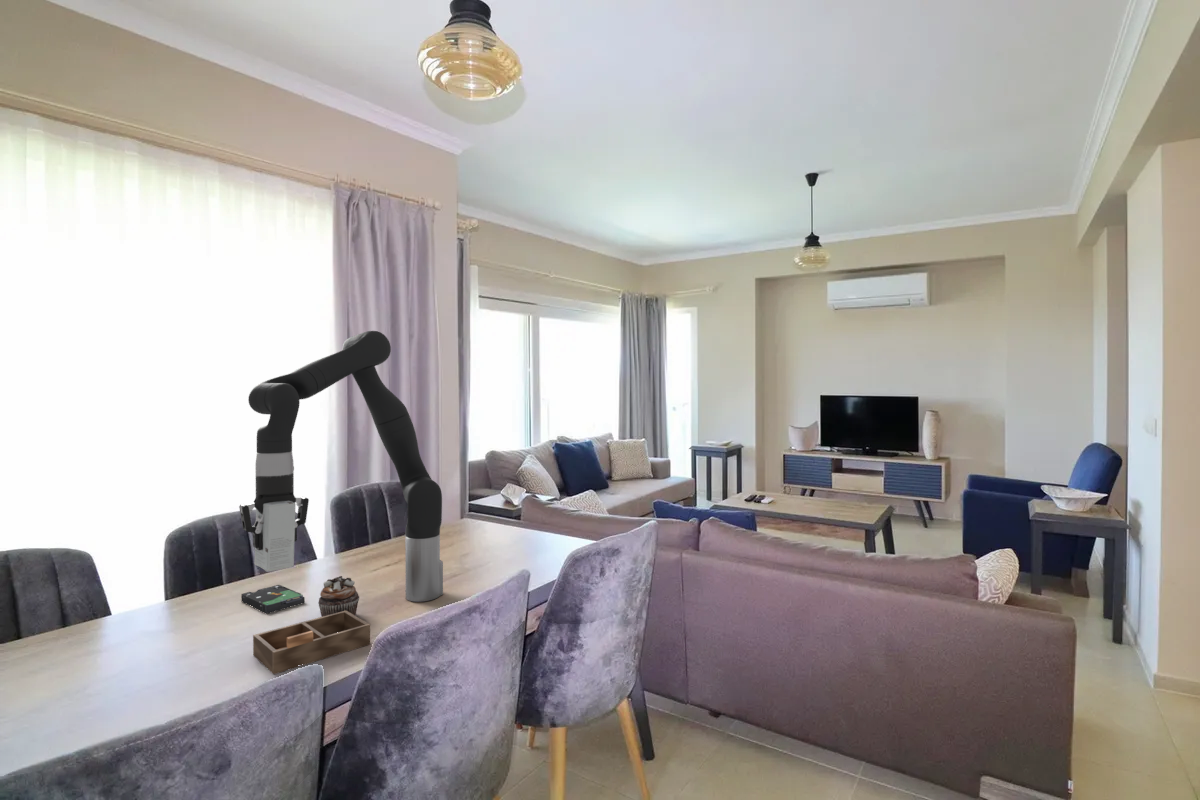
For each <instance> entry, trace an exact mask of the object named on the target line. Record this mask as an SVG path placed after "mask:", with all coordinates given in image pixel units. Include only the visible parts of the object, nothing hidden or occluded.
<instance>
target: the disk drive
mask: <svg viewBox="0 0 1200 800" xmlns="http://www.w3.org/2000/svg"><path fill="white" fill-rule="evenodd" d="M240 600H241V602H242V601H243V602H244V603H243V602H242V603H243V604H245V603H247V604H249V605H251V606H253V607H255V608H256V610H257V609H258V610H257V611H259V610H260V611H259V612H261V611H262V612H261V613H263V612H264V613H263V614H265V613H266V614H267V613H268V614H271V613H275V612H278V611H281V609H282V610H285V609H288V608H287V607H289V608H291V607H290V606H293V607H294V605H296V606H298V604H300V605H302V604H301V603H303V604H305V603H306V601H305V596H304V595H303V594H302V593H300V592H298V591H296V590H293V589H292V588H289V587H286V586H284V585H281V584H276V585H272V586H267V587H264V588H259V589H257V590H256V591H248V592H245V593H241V599H240ZM247 604H246V605H247ZM249 605H248V606H249ZM251 606H250V607H251ZM253 607H252V608H253ZM255 608H254V609H255ZM284 608H285V609H284ZM274 611H275V612H274ZM270 612H271V613H270ZM268 614H267V615H268Z"/></svg>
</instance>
